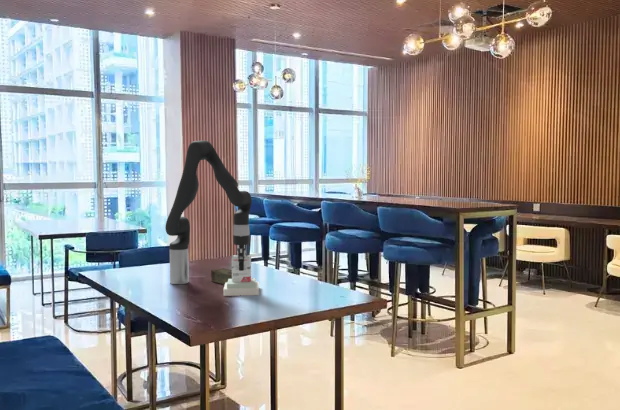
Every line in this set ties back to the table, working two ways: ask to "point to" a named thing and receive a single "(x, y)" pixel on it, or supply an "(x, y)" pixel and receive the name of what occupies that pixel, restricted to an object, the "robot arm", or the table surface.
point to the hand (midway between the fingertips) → (241, 268)
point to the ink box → (241, 275)
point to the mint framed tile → (241, 288)
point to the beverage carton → (221, 275)
